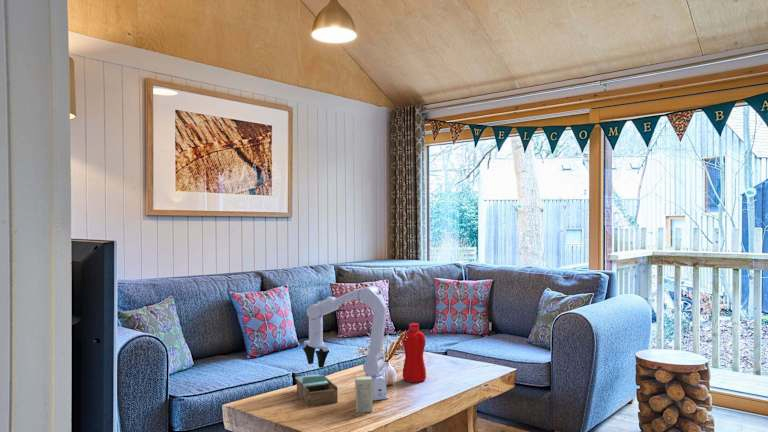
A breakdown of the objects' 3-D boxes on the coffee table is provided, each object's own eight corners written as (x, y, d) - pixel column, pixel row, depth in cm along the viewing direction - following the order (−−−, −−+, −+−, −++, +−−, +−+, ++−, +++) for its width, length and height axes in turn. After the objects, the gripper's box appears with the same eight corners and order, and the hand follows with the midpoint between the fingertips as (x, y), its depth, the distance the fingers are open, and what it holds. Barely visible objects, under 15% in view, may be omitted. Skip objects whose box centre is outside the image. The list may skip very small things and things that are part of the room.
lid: (328, 384, 232) (328, 377, 232) (304, 387, 228) (304, 380, 228) (318, 375, 244) (318, 369, 244) (295, 378, 240) (295, 372, 240)
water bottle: (396, 379, 256) (396, 323, 256) (417, 376, 261) (417, 320, 261) (407, 384, 248) (406, 326, 248) (428, 381, 253) (428, 324, 253)
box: (337, 402, 225) (337, 386, 225) (307, 406, 220) (307, 390, 220) (325, 390, 239) (325, 376, 239) (296, 394, 235) (296, 379, 235)
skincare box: (372, 408, 217) (372, 375, 217) (372, 412, 213) (372, 379, 213) (355, 408, 217) (355, 376, 217) (355, 412, 213) (355, 379, 213)
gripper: (334, 334, 237) (334, 367, 237) (313, 329, 248) (313, 360, 248) (319, 336, 233) (320, 370, 233) (299, 331, 243) (300, 363, 243)
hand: (315, 365), depth 240 cm, fingers open, 7 cm apart
